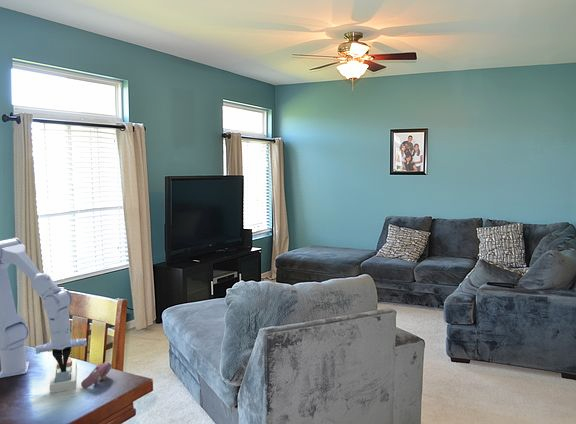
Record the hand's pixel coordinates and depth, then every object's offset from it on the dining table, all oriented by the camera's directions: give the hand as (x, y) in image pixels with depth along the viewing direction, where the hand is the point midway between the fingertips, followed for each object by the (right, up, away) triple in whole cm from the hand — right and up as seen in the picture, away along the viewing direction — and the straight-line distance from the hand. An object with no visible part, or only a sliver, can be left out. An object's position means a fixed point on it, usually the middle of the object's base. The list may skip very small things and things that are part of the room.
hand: (63, 370), depth 156 cm
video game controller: (+12, -3, -2) cm, 12 cm away
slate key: (+2, -1, -5) cm, 6 cm away
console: (0, -3, 0) cm, 3 cm away
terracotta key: (-2, 0, +5) cm, 6 cm away
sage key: (0, -2, 0) cm, 2 cm away
